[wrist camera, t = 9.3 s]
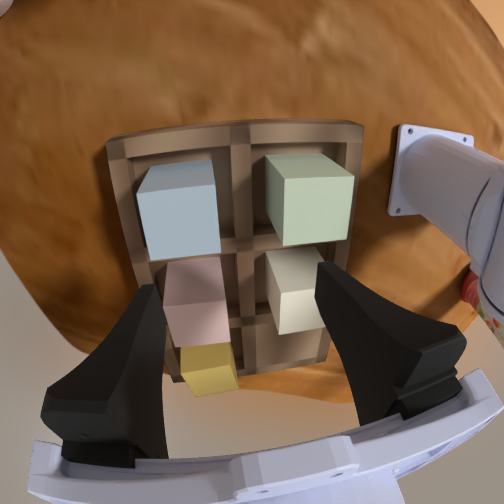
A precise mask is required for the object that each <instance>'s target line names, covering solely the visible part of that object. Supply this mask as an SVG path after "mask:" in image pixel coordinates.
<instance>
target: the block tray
mask: <svg viewBox="0 0 504 504" xmlns="http://www.w3.org/2000/svg"><path fill="white" fill-rule="evenodd" d="M363 134H364V126H363V125H361V124H358V123H355V122H352V121H349V120H333V119H255V120H235V121H221V122H209V123H198V124H189V125H180V126H172V127H165V128H158V129H151V130H145V131H138V132H133V133H127V134H121V135H116V136H114V137H112V138H111V139H110V140H108V141H107V142H105V145H106V151H107V157H108V163H109V169H110V174H111V179H112V184H113V189H114V194H115V199H116V203H117V208H118V212H119V216H120V221H121V225H122V229H123V233H124V237H125V241H126V245H127V248H128V252H129V256H130V259H131V263H132V266H133V270H134V273H135V277H136V280H137V283H138V287H139V289H140V287H141V286H142V285H145V284H154V283H156V287H157V290H158V294H159V297H160V300H161V303H162V307H163V301H164V291H165V282H166V273H167V265H168V262H174V261H183V260H192V259H202V258H211V257H220V261H221V269H222V276H223V283H224V290H225V297H226V305H227V314H228V323H229V332H230V341H231V345H232V348H233V354H234V360H235V367H236V373H237V377H238V376H245V375H253V374H259V373H266V372H272V371H278V370H284V369H290V368H295V367H300V366H305V365H310V364H315V363H320V362H325V361H326V358H327V354H328V350H329V346H330V342H331V336H330V334H329V332H328V330H327V328H326V327H322V328H317V329H311V330H306V331H300V332H294V333H288V334H282V335H279V334H278V330H277V327H276V324H275V321H274V317H273V314H272V311H271V308H270V305H269V301H268V298H267V295H266V292H265V287H266V251H275V250H284V249H293V248H302V247H311V246H315V247H316V249H317V250H318V252H319V253H320V255H321V257H322V258H323V260H324V261H331V262H333V263H334V264H336V265H337V266H338V267H340V268H341V269H342V270H344V271H345V272H346V266H347V261H348V255H349V249H350V243H351V237H352V231H353V224H354V217H355V210H356V202H357V194H358V186H359V177H360V168H361V158H362V146H363ZM317 153H322V154H323V155H325V156H326V157H328V158H329V159H331V160H332V161H334V162H335V163H336V164H338V165H339V166H341V167H342V168H344V169H345V170H346V171H348V172H349V173H351V174H352V175H353V176H354V186H353V195H352V203H351V211H350V218H349V226H348V233H347V239H345V240H335V241H326V242H317V243H307V244H298V245H289V246H283V245H282V243H281V241H280V239H279V237H278V235H277V233H276V231H275V229H274V227H273V224H272V222H271V220H270V218H269V216H268V214H267V212H266V210H265V155H280V154H317ZM208 159H212V166H213V173H214V179H215V187H216V200H217V212H218V224H219V235H220V246H221V253H215V254H206V255H196V256H187V257H178V258H169V259H160V260H150V255H149V251H148V247H147V243H146V238H145V234H144V229H143V225H142V220H141V215H140V210H139V205H138V200H137V192H138V190H139V188H140V186H141V184H142V182H143V180H144V178H145V176H146V174H147V172H148V171H149V169H150V167H151V166H157V165H165V164H173V163H181V162H189V161H199V160H208ZM163 310H164V309H163ZM164 313H165V312H164ZM164 361H165V363H166V366H167V368H168V371H169V373H170V376H171V378H172V381H173V383H177V382H186V381H185V380H184V378H183V376H182V375H181V347H175V345H174V342H173V339H172V335H171V332H170V329H169V326H168V322H167V319H166V344H165V354H164Z"/></svg>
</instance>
